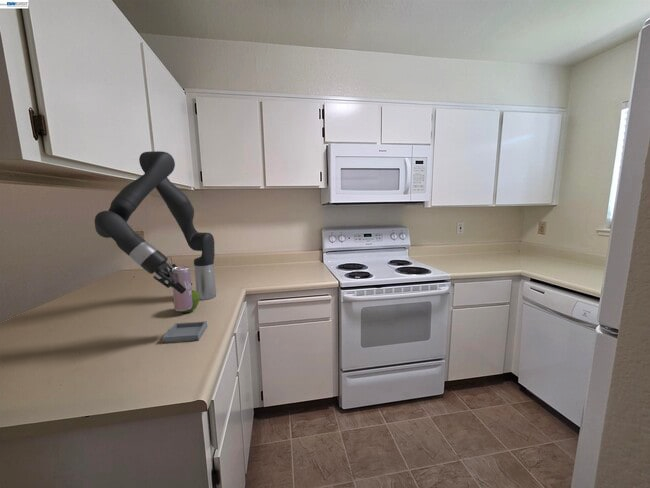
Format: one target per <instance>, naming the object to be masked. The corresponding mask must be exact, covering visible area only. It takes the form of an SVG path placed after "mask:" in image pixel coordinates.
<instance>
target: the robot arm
mask: <svg viewBox="0 0 650 488" xmlns="http://www.w3.org/2000/svg"><path fill="white" fill-rule="evenodd" d="M138 159H139V164H140V168H141V170H142V172H143V175H141V176H139V177H138V178H137V179H135V180H133V181H132V182H130V183H128V184H127V185H125V186H124V187H123V188H122V189H121V190H120V191H119V193H117V195H116V196H115V197H114V198H113V199H112V201H111V202H110V206H109V208H108V210H102V211H100V212H98V213H97V214H96V215H95V217H94V227H95V228H94V229H95V231H96V233H97V234H98V235H99V236H100V237H102V238H105V239H110V238H111V239H112V240H113V241H114V242H115V244H116V245H117V247H118V248H119V249H120V250H121V251H122V252H123V253H125V254H126V255H127V256H129V257H130V259H132V260H133V262H134V263H136V264H137V265H138V266H140V267H141V268H142V269H143V270H145V271H146V272H147V273H149V274H150V275H153V274H154V273H155V275H154V276H153V279H154V280H156V281H157V282H159V283H160V284H161V285H163V286H165V287H166V288H167V289H169V288H172V289H173V288H175V289H176V290H177V291H178V292H179V293H181V294H182V293H184V292H185V291H186V288H185V287H184V286H182V285H181V284H180V283H179V282H178V283H177V281H176V279H175V278H174V275H173V274H172V268H175V267H178V265H176V264H175V263H172V264H169V263H167V261H168V260H169V258H168V257H167V256H166V255H165V254H164V253H162V251H160V250H159V249H158V248H156V247H155V246H154V245H153V244H151V243H149V241H147V240H146V239H144V237H141V236H140V235H139V234H137V232H135V231H134V230H133V228H132V226H130V225H129V223H128V221H129V219H130V218H131V216H132V214H133V213H134V212H135V211H136V210H137V209H138V207H140V205H141V204H142V202H143V201H144V200H145V198H147V196H148V195H149V194H150V193H151V192H152V191H153V190H154V189H156V191H157V192H158V193H159V195H160V196H161V198H162V199H163V201H164V203H165V204H166V206H167V209H168V210H169V212H170V213H171V215H172V216H173V218H174V219H175V221H176V223H177V224H178V227H179V229H180V230H181V232H182V234H183V236H184V238H185V241H186V242H187V245H188V246H189V248H190V249H191V250H192V251H197V252H201V256H199V257H196V258H194V260H193V267H194V268H193V269H194V271H193V272H194V283H195V291H197V292H198V293H199V295H200V299H199V301H200V300H203V301H205V300H206V301H207V300H211V299H214V298H215V297H217V292H216V291H217V289H216V275H215V237H214V235H213V234H212V233H210V232H199V231H197V230H196V228H195V226H194V223H193V222H194V217H195V209H194V207H193V205H192V203H191V200H190V199H189V197H188V196H187V195H186V194H185V193H184V192H183V191H182V190H181V189H180V188H178V186H176V185H175V184H174V183H173V182H171V180H170V179H169V178H168V177H169V176H170V175H171V174H172V173H173V172H174V170H175V166H176V162H175V159H174V157H173V156H172V154H171V153H169V152H166V151H161V150H160V151H158V150H157V151H153V150H152V151H143V152H142V153H141V154H140V155H139V158H138ZM172 280H173V281H172ZM192 285H193V283H192V282H191V286H192Z"/></svg>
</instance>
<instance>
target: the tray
mask: <svg viewBox="0 0 650 488" xmlns="http://www.w3.org/2000/svg"><path fill="white" fill-rule="evenodd" d="M207 328H208V321H206V320H203V321H189V322H175V323H174V324H173V325H172V326H171V327H170V329H168V331H167V332H166V333H165V334H164V335H163V336H162V338H161V339H162V343H163V344H171V342H173V343H182V342H183V343H184V342H196V341H200V339H201V337H202V336H203V334H204V332H205V331H206V329H207Z"/></svg>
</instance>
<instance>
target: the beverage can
mask: <svg viewBox="0 0 650 488" xmlns="http://www.w3.org/2000/svg"><path fill="white" fill-rule="evenodd" d="M172 274H173V275H174V278H175V279H176V281H177V283H178V282H179V283H180V284H181V285H182V286H184V287H185V288H186V291H185V292H184V293H182V294H181V293H179V292H178V291H177V290H176V289H175V288H172V294H173V295H172V296H173V297H174V303H173V307H174V308H173V309H175V311H177V312H181V311H186V310H189V309H191V308H192V306H193V302H192V290H193V289H192V285H191V283H192V279H191V278H192V277H191V268H190V267H189V266H183V265H182V266H177V267H175V268H172ZM172 281H173V280H172Z"/></svg>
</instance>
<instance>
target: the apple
mask: <svg viewBox="0 0 650 488" xmlns="http://www.w3.org/2000/svg"><path fill="white" fill-rule="evenodd" d="M199 299H200V295H199V293H198V292H197V291H196V290H194V289H192V302H193V306H192V308H191V309H189V310H186V311H180V312H181V313H191V312H193V311H195V309H197V307H198V305H199V302H200V300H199ZM172 303H173V304H174V297H173V298H172Z"/></svg>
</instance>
